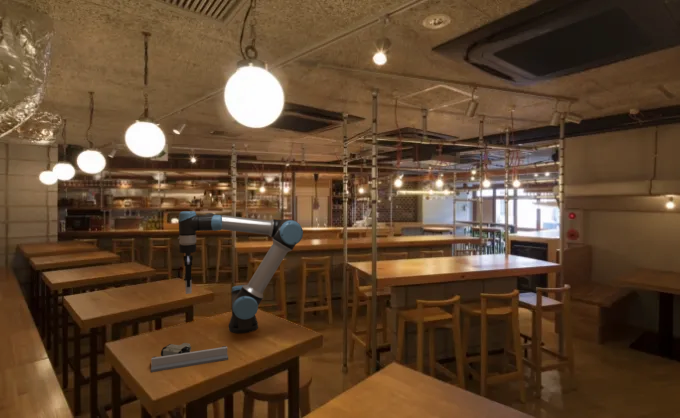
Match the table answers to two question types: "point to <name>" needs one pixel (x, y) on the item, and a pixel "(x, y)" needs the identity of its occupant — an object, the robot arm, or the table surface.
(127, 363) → the table surface
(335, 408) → the table surface
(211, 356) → the curved pull handle
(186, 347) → the pneumatic valve
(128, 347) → the table surface
